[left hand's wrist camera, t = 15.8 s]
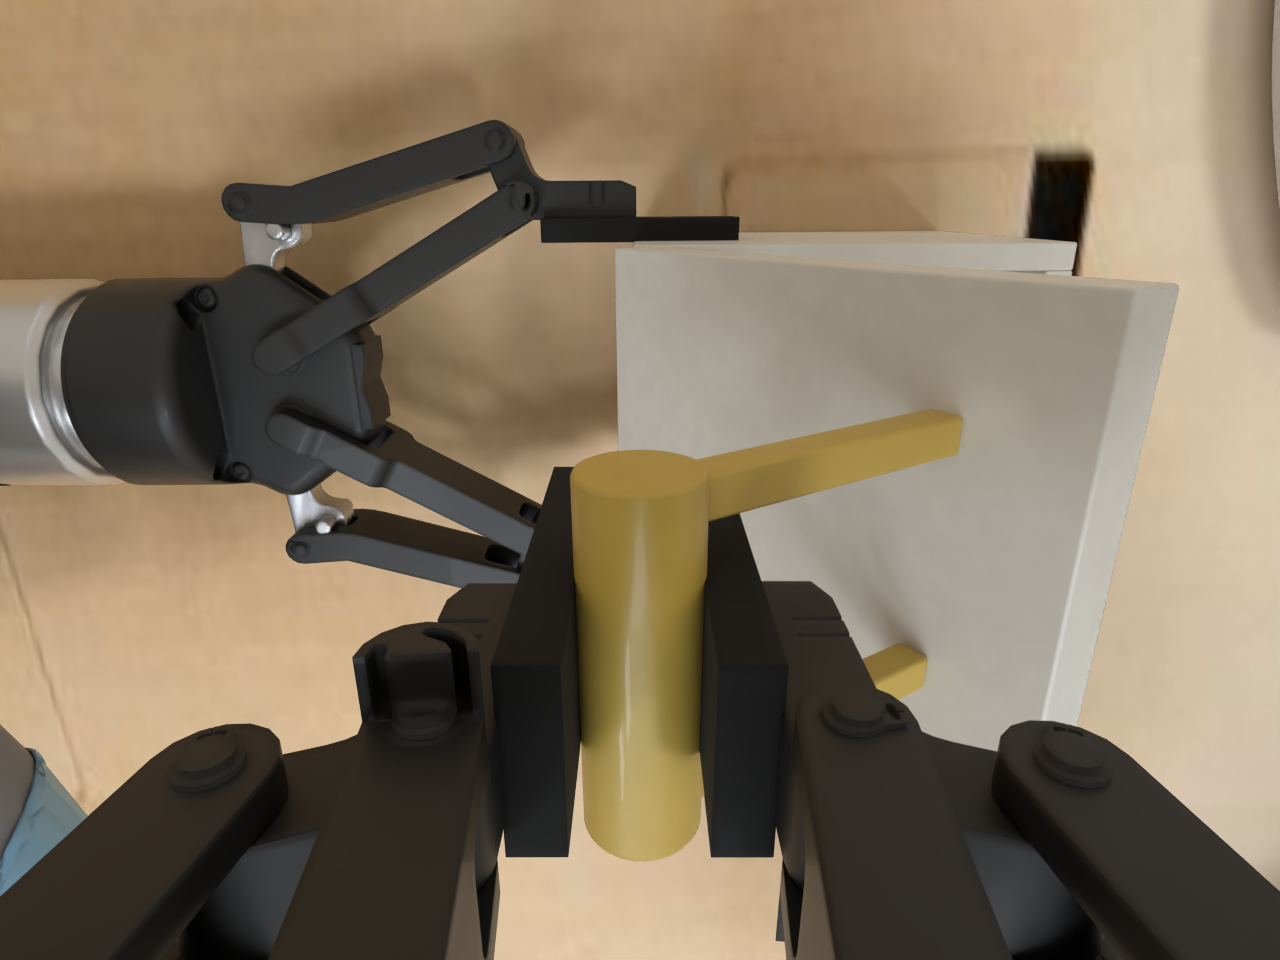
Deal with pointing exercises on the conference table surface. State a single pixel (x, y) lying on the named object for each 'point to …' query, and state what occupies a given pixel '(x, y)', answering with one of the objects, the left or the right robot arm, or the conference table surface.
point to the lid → (853, 493)
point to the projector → (1276, 91)
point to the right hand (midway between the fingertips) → (728, 379)
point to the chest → (903, 249)
